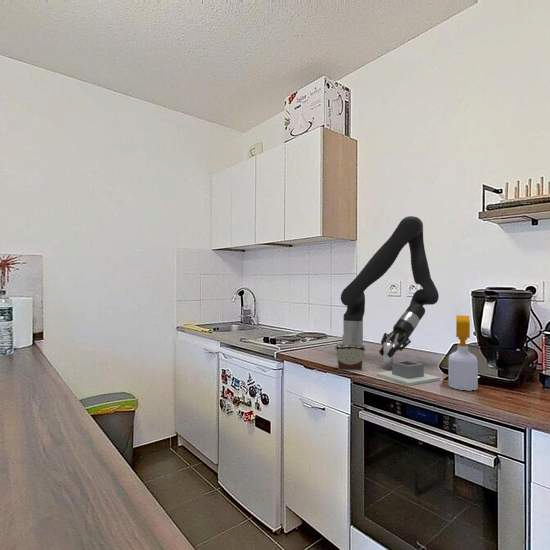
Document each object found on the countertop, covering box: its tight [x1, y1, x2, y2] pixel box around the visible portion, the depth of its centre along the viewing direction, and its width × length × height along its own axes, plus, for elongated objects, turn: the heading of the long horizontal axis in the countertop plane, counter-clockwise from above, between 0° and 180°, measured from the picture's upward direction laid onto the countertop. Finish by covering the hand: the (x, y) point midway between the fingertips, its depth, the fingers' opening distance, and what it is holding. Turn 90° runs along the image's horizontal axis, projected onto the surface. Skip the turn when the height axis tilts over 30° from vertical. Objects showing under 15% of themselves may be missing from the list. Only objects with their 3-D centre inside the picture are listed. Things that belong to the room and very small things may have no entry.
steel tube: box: [382, 341, 394, 367], centre depth 159 cm, size 4×4×9 cm
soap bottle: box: [447, 314, 479, 392], centre depth 132 cm, size 9×9×25 cm
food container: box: [334, 343, 366, 371], centre depth 160 cm, size 12×6×10 cm, turn 84°
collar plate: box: [376, 360, 441, 386], centre depth 145 cm, size 16×16×6 cm
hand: (384, 355), depth 158 cm, fingers closed on steel tube, 4 cm apart
